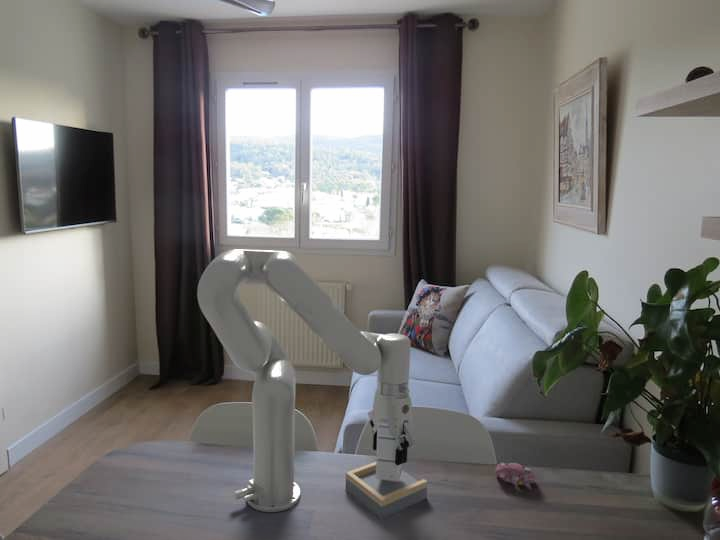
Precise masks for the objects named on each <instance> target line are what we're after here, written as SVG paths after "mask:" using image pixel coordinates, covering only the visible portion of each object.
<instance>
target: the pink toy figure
mask: <svg viewBox="0 0 720 540" xmlns="http://www.w3.org/2000/svg"><path fill="white" fill-rule="evenodd" d="M494 473H495V476H496V477H497V478H501V479H502V481H504V483H507V482H509V483H508V484H511V483H512V482H513V479H514V478H513V477H516V479H515V483H516V484H517V485H518V484H519V486H521V485H523V486H525V485H527V484H531V485H532V484H534V482H535V480H536V476H535V472H534V471H533V469H532V468H530V467H529V466H524V465H521V464H519V463H517V462H508V463H507V462H506V463H505V462H501V463H498V464H497V466H496V467H495V471H494Z"/></svg>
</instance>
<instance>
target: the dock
mask: <svg viewBox="0 0 720 540" xmlns="http://www.w3.org/2000/svg"><path fill="white" fill-rule="evenodd" d="M345 490H346V492H348V493H349V494H350V495H352V496H353V497H354V498H355V499H356V500H358V501H359V502H360V503H361V504H362V505H364V506H365V507H366V508H367V509H368V510H370V511H371V512H372V513H374V515H376V516H377V518H378V517H379V519H385V518H386V517H389V516H391V515H394V514H395V513H397V512H400V511H403V510H404V509H406V508H409V507H411V506H413V505H415V504H418V503H420V502H422V501H424V500H427V497H428V496H427V494H428V480H426V479H425V478H422V479H420V480H418V479H416V478H414V477H413V476H411V475H410V474H408V473H407V472H406V471H404V470H402V472H401V476H400V479H399V482H396V481H388V480H382V479H377V478H376V461H374V462H371V463H368V464H366V465H362V466H360V467H357V468H355V469H351V470H349V471H347V472H345Z"/></svg>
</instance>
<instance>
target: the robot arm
mask: <svg viewBox="0 0 720 540" xmlns="http://www.w3.org/2000/svg"><path fill="white" fill-rule="evenodd" d="M244 285H249V286H251V285H252V286H266V287H267V288H268V289H269V290H270V292H272V293H273V294H274V295H276V297H277V298H278V299H279V300H281V301H282V302H283V303H284V304H285V305H286V306H287V307H288V308H289V309H290V310H291V311H292V312H294V313H295V314H296V315H297V317H299V318H300V320H302V321H303V322H304V324H306V325H307V326H308V328H309V329H310V330H311V331H312V333H313V334H314V335H315V336H316V337H318V338H319V339H320V340H321V342H322V343H323V344H324V345H325V346H326V347H327V348H328V349H329V350H330V351H331V353H333V355H335V357H337V358H338V359H339V360H340V361H341V363H343V364H344V365H345V366H346V367H347V368H349V369H350V370H351V371H352V372H353V373H355V374H358V375H360V376H369V375H373V374H374V373H375V372H376V371H377V372H376V374H377V375H376V389H375V392H374V396H373V397H374V398H373V403H372V404H373V405H372V410H370V411H368V412H367V415H368V419H369V423H370V426H371V428H372V429H371V433H372V434H373V436H372V437H373V438H372V449H373V451H377V423H378V420H383V421H385V422H387V424H388V428H389V434H390V436H392V437H394V438H395V440H396V443H397V447H398V448H397V449H396V455H395V464H396V465H400V464H402V465H403V464H405V463H407V462H408V450H409V448H410V447H411V446H412V445H413V443H414V442H415V441H416V440H417V436H416V434H415V432H414V431H413V406H412V397H411V395H410V394H409V393H410V388H409V384H410V383H409V382H410V368H411V365H410V364H411V363H410V362H411V346H412V345H411V340H410V338H409V336H407V335H405V334H401V333H393V332H391V333H385V334H384V333H375V332H370V331H362V330H361V331H360V330H359V329H358V328H357V327H356V326H355V325H354V324H353V322H351V321H350V319H349V318H348V317H347V316H346V314H345V312H344V311H343V310H342V308H341V307H340V305H339V304H338V302H337V301H336V299H335V298H334V297H333V296H332V295H331V294H330V293H329V292H328V291H327V290H326V289H325V288H324V287H323V286H322V285H320V283H318V281H317V280H315V279H314V278H313V277H312V276H311V275H310V273H309V272H308V271H306V270H305V269H304V268H303V267H302V266H301V265H300V262H299V260H298V259H297V257H296V256H295V255H293V253H292V252H288V251H285V250H263V249H238V248H237V249H236V248H234V249H229V250H225V251H223V252H221V253H220V254H219V255H218V256H215V258H214V259H212V260H211V262H210V263H209V264H208V265H207V267H206V268H205V269H204V271H203V273H202V274H201V277H200V279H199V281H198V285H197V293H196V295H197V296H196V297H197V301H198V305H199V308H200V310H201V312H202V314H203V316H204V317H205V319H206V321H207V322H208V323H209V325H210V327H211V328H212V330H213V332H214V334H215V335H216V337H217V338H218V341H219V342H220V344H221V345H222V347H223V348H224V350H225V351H226V353H227V355H228V356H229V358H230V360H231V361H232V362H233V364H234V365H235V366H236V368H238V369H239V370H240V371H243V372H246V373H252V375H253V376H254V383H253V387H252V394H251V408H252V425H253V426H252V439H253V441H252V442H253V444H252V445H253V446H252V447H253V454H252V456H253V457H252V458H253V464H252V467H253V473H252V474H253V476H252V477H253V478H252V479H249V480H248V484H249V485H246V486H245V488H240V489H238V490H235V491H233V498H234V500H235V501H237V500H240V499H242V500H243V502H244V503H248V505H249V506H250V507H252V508H253V509H255V510H257V511H260V512H264V513H276V512H282V511H285V510H288V509H291V508H292V507H294V506H295V505H297V503H298V502H299V501H300V498H301V488H300V486H299V485H298V484H297V483H296V482H295V411H296V407H295V406H296V371H295V368H294V365H293V364H292V362H291V360H290V358H289V357H288V356H287V354H286V352H285V351H284V349H283V347H282V346H281V344H280V343H279V341H278V339H277V338H276V336H275V334H274V332H272V330H271V329H270V328H269V327H268V325H266V324H264V323H263V322H261V321H257V320H254V319H253V318H252V316H251V315H250V313H249V311H248V309H247V308H246V306H245V305H244V303H242V301H241V300H240V298H239V291H240V289H241V288H242V287H243V286H244ZM401 433H402V435H400V434H401ZM402 437H403V443H401V440H400V438H402Z"/></svg>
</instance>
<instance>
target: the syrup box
mask: <svg viewBox="0 0 720 540" xmlns="http://www.w3.org/2000/svg"><path fill="white" fill-rule="evenodd" d="M400 435H402V433H401V434H400ZM400 440H401V443H403V442H404V441H403V437H402V438H400ZM397 448H398V447H397V443H396V440H395V438H394V437H392V436H390V434H389V428H388V424H387V422H385V421H383V420H378V423H377V450H376V455H375V457H376V459H375V460H376V461H375V462H376V478H377V479H382V480H388V481H396V482H399V479H400V476H401V472H402V471H403V464H400V465H396V464H395V455H396V449H397Z"/></svg>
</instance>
